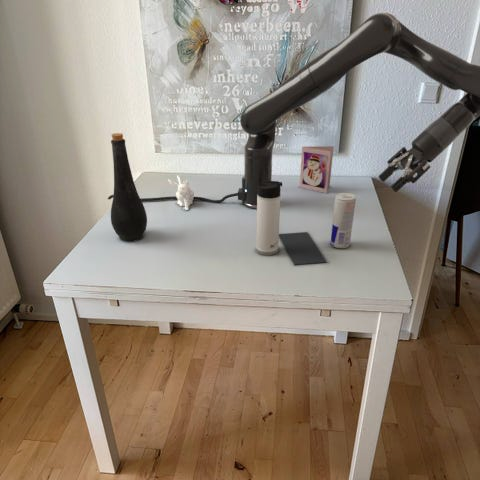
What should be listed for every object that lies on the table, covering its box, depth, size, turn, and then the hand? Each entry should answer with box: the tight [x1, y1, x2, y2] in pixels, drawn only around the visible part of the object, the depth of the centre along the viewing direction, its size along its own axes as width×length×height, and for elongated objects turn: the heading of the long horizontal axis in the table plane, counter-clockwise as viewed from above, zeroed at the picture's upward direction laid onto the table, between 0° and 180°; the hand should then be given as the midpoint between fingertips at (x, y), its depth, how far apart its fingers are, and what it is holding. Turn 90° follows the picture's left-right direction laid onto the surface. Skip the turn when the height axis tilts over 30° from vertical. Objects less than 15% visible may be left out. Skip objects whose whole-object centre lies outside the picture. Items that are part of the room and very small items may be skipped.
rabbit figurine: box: [167, 175, 195, 211], centre depth 169 cm, size 12×8×10 cm, turn 170°
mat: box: [279, 231, 327, 266], centre depth 142 cm, size 20×9×1 cm, turn 9°
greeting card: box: [299, 146, 335, 194], centre depth 180 cm, size 11×7×15 cm, turn 55°
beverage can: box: [330, 192, 357, 249], centre depth 139 cm, size 6×6×15 cm
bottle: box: [110, 132, 148, 243], centre depth 140 cm, size 11×11×30 cm
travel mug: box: [256, 180, 283, 256], centre depth 135 cm, size 6×7×20 cm
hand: (386, 184), depth 135 cm, fingers open, 8 cm apart
